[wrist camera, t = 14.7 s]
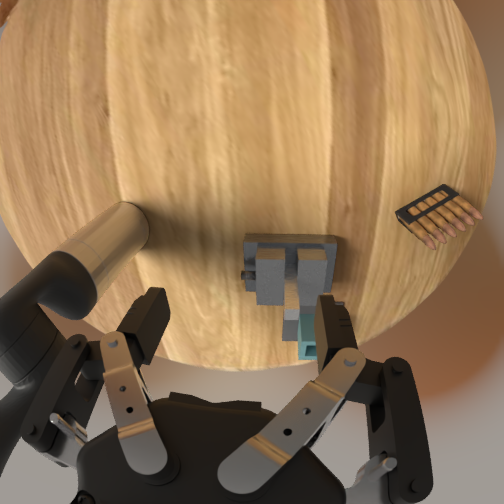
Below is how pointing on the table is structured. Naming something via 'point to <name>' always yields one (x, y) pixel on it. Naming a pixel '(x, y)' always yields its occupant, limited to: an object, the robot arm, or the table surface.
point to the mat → (292, 325)
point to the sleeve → (306, 337)
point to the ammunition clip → (437, 215)
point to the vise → (289, 269)
